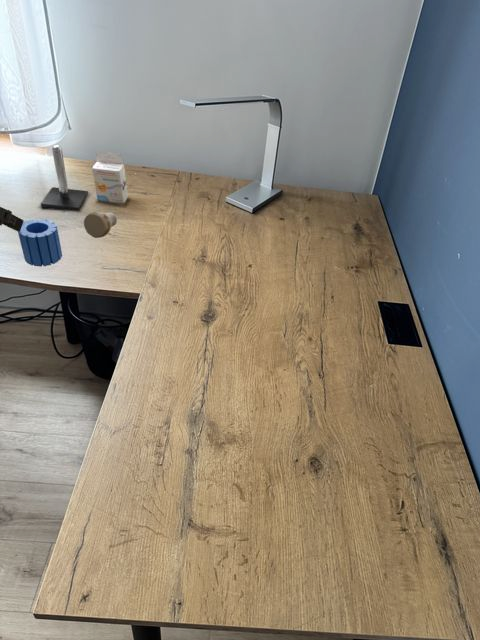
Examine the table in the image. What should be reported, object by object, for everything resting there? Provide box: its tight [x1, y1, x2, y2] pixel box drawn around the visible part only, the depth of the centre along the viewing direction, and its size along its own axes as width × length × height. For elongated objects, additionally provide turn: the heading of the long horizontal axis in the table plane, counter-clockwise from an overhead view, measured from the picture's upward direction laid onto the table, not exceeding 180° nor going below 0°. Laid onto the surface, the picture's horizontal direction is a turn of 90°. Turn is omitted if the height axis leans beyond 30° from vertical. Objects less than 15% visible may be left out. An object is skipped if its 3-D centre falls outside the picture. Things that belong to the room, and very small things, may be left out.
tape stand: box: [40, 144, 89, 211], centre depth 149 cm, size 11×11×17 cm
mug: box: [83, 211, 118, 239], centre depth 143 cm, size 8×10×10 cm
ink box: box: [91, 151, 129, 204], centre depth 153 cm, size 8×5×15 cm, turn 84°
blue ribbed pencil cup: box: [17, 218, 63, 268], centre depth 128 cm, size 9×9×10 cm
